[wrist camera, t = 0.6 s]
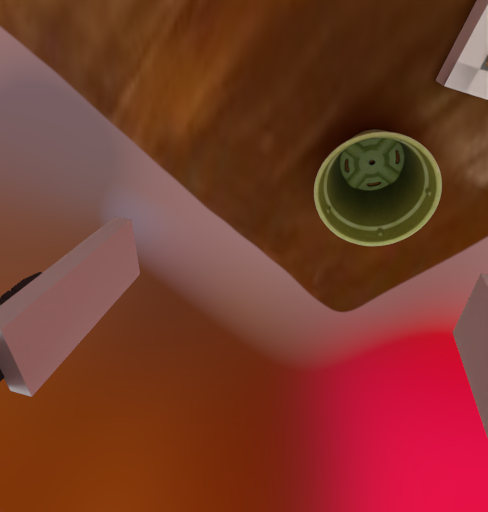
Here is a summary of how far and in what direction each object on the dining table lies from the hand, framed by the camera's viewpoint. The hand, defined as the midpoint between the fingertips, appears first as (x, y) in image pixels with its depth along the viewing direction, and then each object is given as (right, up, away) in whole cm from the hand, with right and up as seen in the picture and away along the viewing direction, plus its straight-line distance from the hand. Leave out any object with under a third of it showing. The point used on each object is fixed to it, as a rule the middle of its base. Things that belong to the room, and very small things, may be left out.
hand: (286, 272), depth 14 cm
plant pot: (+11, +10, +21) cm, 26 cm away
